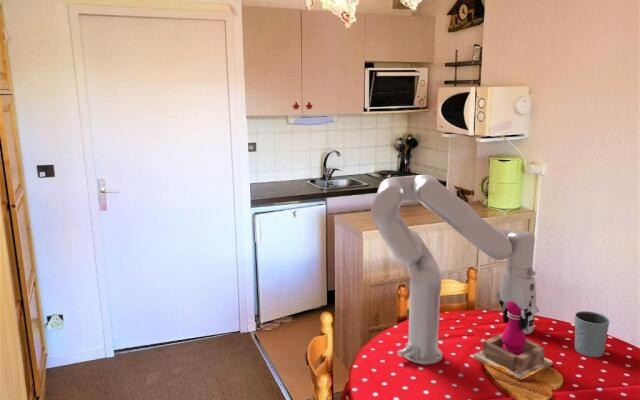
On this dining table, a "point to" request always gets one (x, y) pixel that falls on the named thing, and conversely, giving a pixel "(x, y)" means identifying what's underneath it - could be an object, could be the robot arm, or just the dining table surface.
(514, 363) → the stand
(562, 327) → the dining table surface
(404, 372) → the dining table surface
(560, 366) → the dining table surface
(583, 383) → the dining table surface
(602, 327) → the grey cylindrical pot
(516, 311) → the pepper mill
